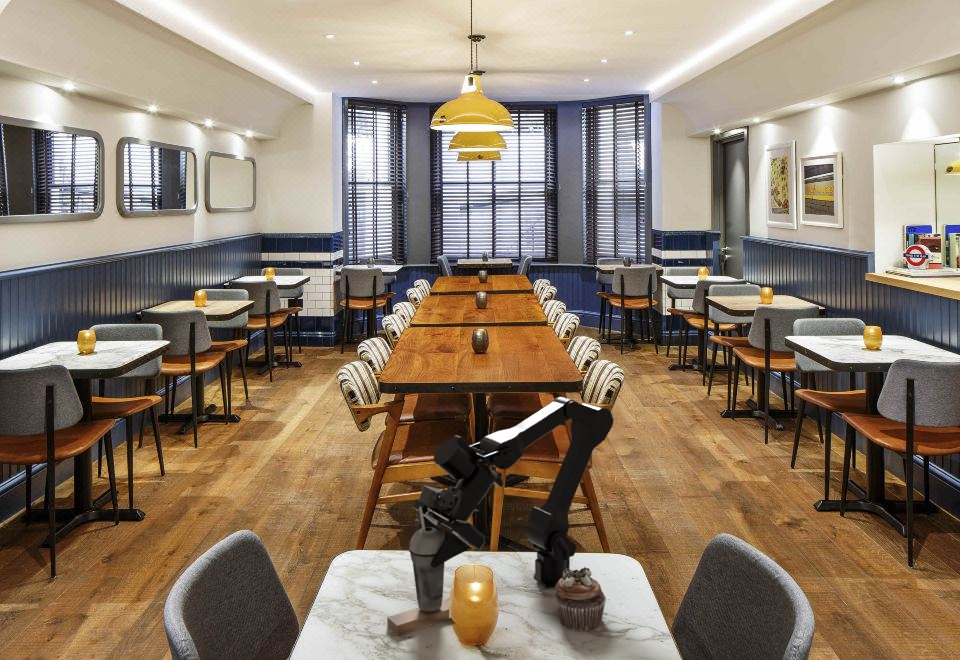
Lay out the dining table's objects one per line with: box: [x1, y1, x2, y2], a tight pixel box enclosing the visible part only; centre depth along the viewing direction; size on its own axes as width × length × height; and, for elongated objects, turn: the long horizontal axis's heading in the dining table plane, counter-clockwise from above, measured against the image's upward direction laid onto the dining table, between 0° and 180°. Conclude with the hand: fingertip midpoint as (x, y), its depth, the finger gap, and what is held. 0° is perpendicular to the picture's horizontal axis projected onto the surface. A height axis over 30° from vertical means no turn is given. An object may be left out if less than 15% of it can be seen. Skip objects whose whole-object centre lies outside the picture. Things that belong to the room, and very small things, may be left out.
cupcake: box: [554, 566, 607, 632], centre depth 159 cm, size 10×10×10 cm
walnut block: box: [386, 597, 451, 636], centre depth 161 cm, size 16×4×2 cm, turn 123°
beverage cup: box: [408, 507, 445, 611], centre depth 159 cm, size 7×7×20 cm
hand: (422, 560), depth 159 cm, fingers closed on beverage cup, 7 cm apart
